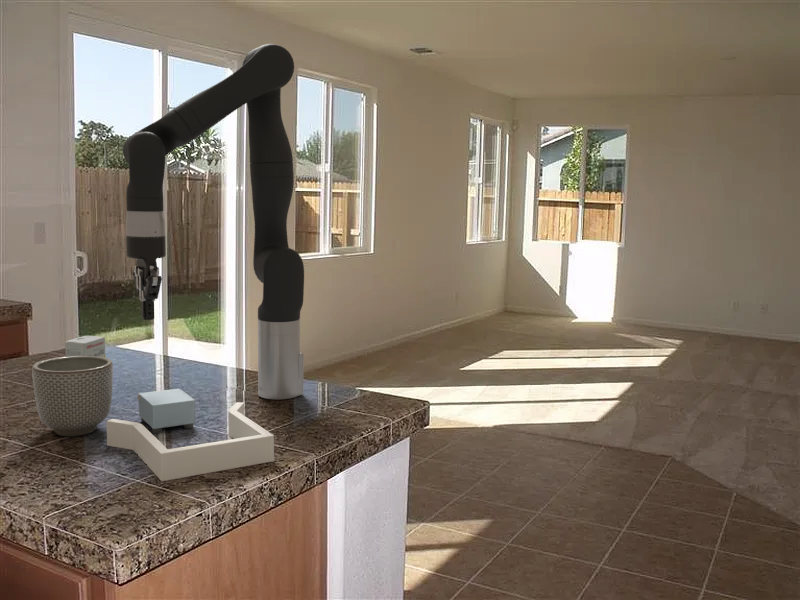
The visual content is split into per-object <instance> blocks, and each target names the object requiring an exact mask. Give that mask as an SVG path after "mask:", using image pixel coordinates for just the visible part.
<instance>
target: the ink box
mask: <svg viewBox="0 0 800 600" xmlns="http://www.w3.org/2000/svg"><path fill="white" fill-rule="evenodd" d="M64 344H65V345H64V346H65V357H68V356H98V357H104V358H107V357H106V337H105V336H96V335H83V336H80V337H76V338H72V339H68V340H66V341H65V343H64Z"/></svg>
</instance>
